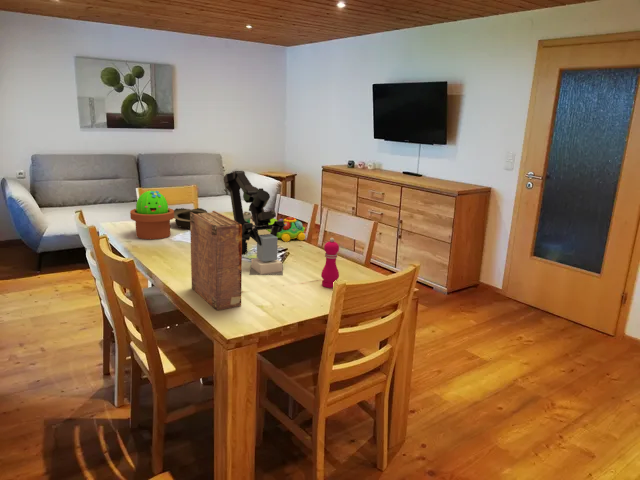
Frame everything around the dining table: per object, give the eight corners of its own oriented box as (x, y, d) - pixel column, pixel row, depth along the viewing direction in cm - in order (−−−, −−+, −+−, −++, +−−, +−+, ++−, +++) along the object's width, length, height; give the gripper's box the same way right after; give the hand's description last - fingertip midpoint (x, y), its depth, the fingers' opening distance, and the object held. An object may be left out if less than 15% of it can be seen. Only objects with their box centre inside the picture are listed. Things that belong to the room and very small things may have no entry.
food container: (247, 233, 274) (247, 216, 271) (236, 232, 275) (237, 215, 272) (254, 228, 286) (254, 212, 283) (244, 227, 287) (244, 211, 284)
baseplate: (249, 277, 202) (249, 274, 202) (251, 266, 217) (251, 263, 217) (282, 277, 204) (282, 275, 203) (282, 266, 218) (282, 264, 218)
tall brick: (256, 257, 210) (257, 235, 207) (270, 255, 213) (271, 233, 211) (262, 261, 204) (263, 238, 202) (277, 259, 208) (277, 237, 205)
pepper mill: (320, 282, 200) (322, 235, 195) (337, 282, 201) (340, 235, 196) (321, 288, 193) (323, 240, 188) (339, 288, 194) (342, 240, 189)
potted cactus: (131, 231, 265) (128, 186, 259) (172, 230, 274) (171, 186, 267) (132, 242, 246) (129, 193, 240) (176, 239, 254) (175, 192, 248)
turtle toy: (260, 236, 270) (260, 215, 267) (298, 233, 280) (299, 213, 277) (269, 243, 255) (270, 222, 252) (310, 240, 265) (311, 220, 262)
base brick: (251, 267, 212) (251, 258, 211) (272, 264, 217) (272, 256, 216) (260, 274, 203) (260, 265, 202) (282, 271, 208) (282, 262, 207)
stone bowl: (179, 219, 299) (180, 205, 296) (218, 225, 296) (219, 211, 294) (161, 228, 275) (162, 212, 272) (203, 234, 272) (204, 218, 270)
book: (191, 288, 187) (189, 212, 180) (214, 284, 192) (213, 210, 185) (217, 311, 167) (216, 226, 159) (241, 306, 172) (242, 224, 164)
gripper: (243, 204, 201) (253, 236, 195) (283, 202, 211) (294, 233, 204) (236, 219, 210) (245, 250, 204) (275, 216, 219) (285, 246, 213)
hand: (268, 244), depth 206 cm, fingers closed on tall brick, 6 cm apart
